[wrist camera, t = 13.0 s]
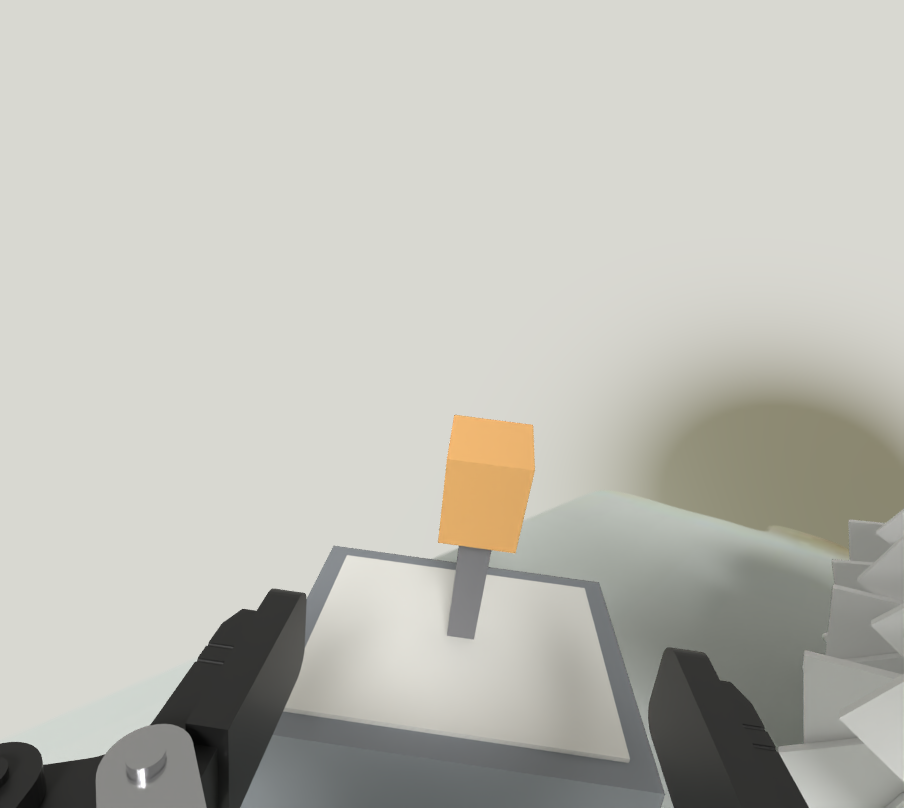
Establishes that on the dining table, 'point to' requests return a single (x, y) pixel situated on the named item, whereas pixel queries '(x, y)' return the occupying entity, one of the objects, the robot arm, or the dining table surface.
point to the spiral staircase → (857, 681)
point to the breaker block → (456, 697)
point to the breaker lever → (483, 505)
